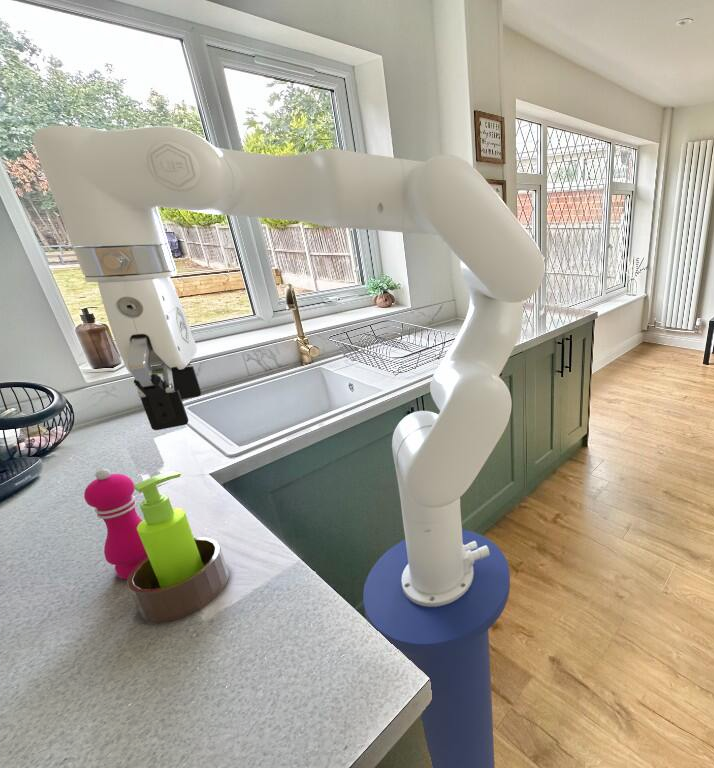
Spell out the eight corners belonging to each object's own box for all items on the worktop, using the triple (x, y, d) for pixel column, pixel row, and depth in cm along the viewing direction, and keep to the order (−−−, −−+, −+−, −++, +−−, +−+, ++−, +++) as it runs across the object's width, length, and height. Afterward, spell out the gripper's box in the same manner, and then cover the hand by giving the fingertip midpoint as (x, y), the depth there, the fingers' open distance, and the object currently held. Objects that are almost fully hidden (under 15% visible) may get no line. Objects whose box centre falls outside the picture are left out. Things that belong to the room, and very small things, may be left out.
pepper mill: (114, 564, 74) (71, 468, 67) (165, 545, 79) (130, 453, 72) (113, 589, 69) (67, 487, 62) (168, 566, 74) (130, 470, 67)
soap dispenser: (220, 574, 71) (186, 474, 64) (173, 604, 65) (130, 498, 58) (203, 561, 74) (169, 464, 67) (156, 589, 68) (114, 486, 61)
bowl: (230, 555, 76) (222, 528, 74) (225, 602, 66) (216, 573, 64) (149, 580, 71) (138, 553, 69) (131, 635, 61) (117, 605, 59)
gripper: (154, 267, 38) (207, 432, 44) (187, 258, 53) (224, 383, 59) (42, 273, 35) (116, 450, 41) (110, 261, 49) (157, 394, 55)
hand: (179, 410), depth 50 cm, fingers open, 9 cm apart
